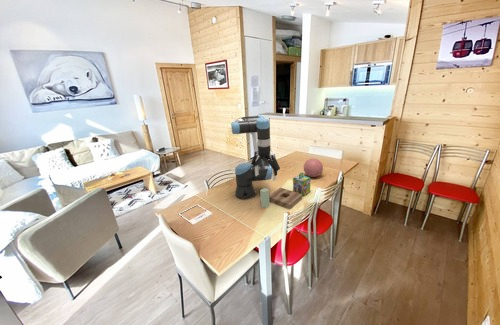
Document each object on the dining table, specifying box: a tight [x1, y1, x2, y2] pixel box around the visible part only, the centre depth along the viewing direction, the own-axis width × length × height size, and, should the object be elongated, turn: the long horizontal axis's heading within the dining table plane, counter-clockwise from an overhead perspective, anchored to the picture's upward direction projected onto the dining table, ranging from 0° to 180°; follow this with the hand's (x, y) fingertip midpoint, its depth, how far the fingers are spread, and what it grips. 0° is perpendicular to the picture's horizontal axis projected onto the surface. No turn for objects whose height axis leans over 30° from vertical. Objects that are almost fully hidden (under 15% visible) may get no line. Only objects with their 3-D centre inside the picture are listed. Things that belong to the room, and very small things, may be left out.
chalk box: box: [292, 172, 312, 197], centre depth 151 cm, size 9×9×15 cm
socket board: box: [269, 187, 303, 210], centre depth 145 cm, size 18×16×4 cm
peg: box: [259, 187, 271, 209], centre depth 138 cm, size 4×4×12 cm
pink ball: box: [303, 158, 324, 178], centre depth 176 cm, size 15×20×15 cm
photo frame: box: [178, 203, 214, 226], centre depth 137 cm, size 15×1×18 cm
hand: (265, 177), depth 133 cm, fingers open, 13 cm apart
